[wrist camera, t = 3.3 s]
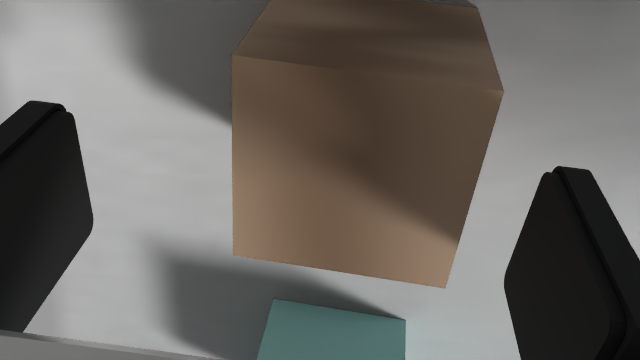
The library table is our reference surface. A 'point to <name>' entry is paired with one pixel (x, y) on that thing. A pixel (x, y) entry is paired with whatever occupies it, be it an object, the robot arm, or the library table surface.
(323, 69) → the walnut cube
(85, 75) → the library table surface
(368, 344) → the teal cube
